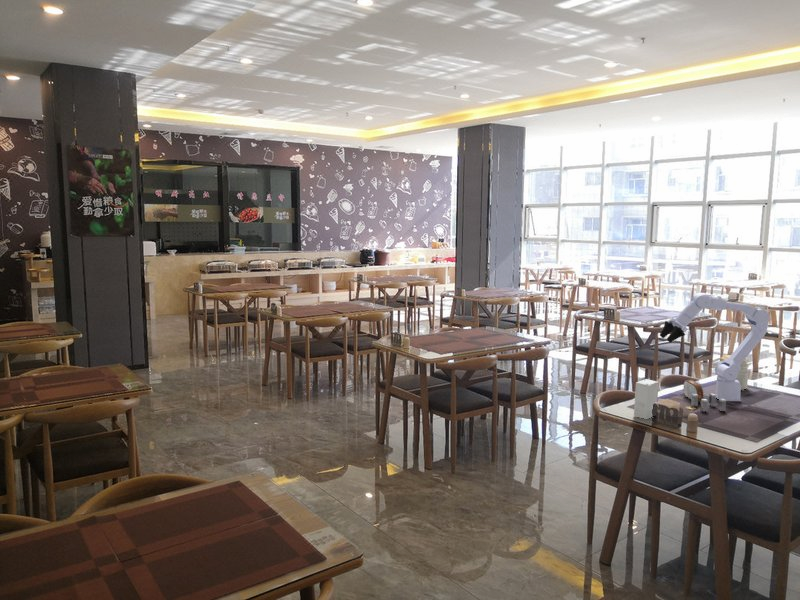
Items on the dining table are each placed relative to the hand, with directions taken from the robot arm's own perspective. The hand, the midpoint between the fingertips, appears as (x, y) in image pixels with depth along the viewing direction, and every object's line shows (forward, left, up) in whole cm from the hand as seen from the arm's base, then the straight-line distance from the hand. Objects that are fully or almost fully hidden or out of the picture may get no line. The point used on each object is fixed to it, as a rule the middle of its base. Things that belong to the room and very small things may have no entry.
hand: (664, 339), depth 280 cm
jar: (-42, -17, -27) cm, 53 cm away
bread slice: (-12, +4, -27) cm, 30 cm away
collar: (-12, +13, -27) cm, 33 cm away
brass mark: (-5, +17, -27) cm, 33 cm away
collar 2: (-12, +21, -27) cm, 37 cm away
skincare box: (+20, +28, -27) cm, 44 cm away
